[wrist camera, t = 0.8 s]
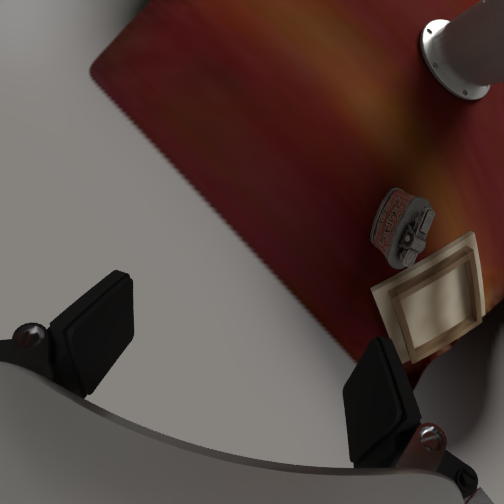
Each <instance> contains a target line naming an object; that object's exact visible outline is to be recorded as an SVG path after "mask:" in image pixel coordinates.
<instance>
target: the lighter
mask: <svg viewBox="0 0 504 504" xmlns="http://www.w3.org/2000/svg"><path fill="white" fill-rule="evenodd" d="M434 216H435V211H434V210H432V209H431V205H430V203H429V201H428V200H426V199H425V198H422V197H419V196H413V195H411V194H408V193H406V192H405V191H403V190H402V189H399V188H392V189H390V190H389V191H388V193H387V194H386V196H385V198H384V199H383V201H382V203H381V205H380V207H379V209H378V211H377V214H376V217H375V219H374V222H373V226H372V230H371V234H370V240H371V242H372V244H373V245H374V246H375V247H377V248H378V249H379V250H380V251H381V252H382V253H383V254H384V256H385V257H386V259H387V262H388V263H389V264H390V265H391V267H393V268H394V269H402V268H404V267H406V266H407V267H411V266H412V265H413V263H414V261H415V259H416V257H417V255H418V254H419V253H421V252H423V250H424V248H425V246H426V235H427V233H428V231H429V228H430V226H431V224H432V221H433V219H434Z"/></svg>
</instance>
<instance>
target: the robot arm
mask: <svg viewBox="0 0 504 504" xmlns="http://www.w3.org/2000/svg"><path fill="white" fill-rule="evenodd" d="M420 47H421V51H422V55H423V57H424V60H425V62H426V64H427V66H428V68H429V69H430V71H431V72H432V74H433V75H434V77H435V78H436V79H437V80H438V81H439V83H440V84H441V85H442V86H443V87H444V88H446V89H447V90H448V91H449V92H451V93H452V94H454V95H455V96H457V97H459V98H462V99H465V100H476V99H480V98H482V97H484V96H485V95H486V94H487V92H488V90H489V88H490V85H491V84H496V83H501V82H504V0H481V1H480V2H478V3H477V4H475V5H473V6H472V7H470V8H469V9H467V10H466V11H465V12H463V13H462V14H460V15H459V16H457V17H456V18H454V19H453V20H451V21H447V20H433V21H431V22H429V23H428V24H427V25H426V26H425V27H424V28H423V29H422V32H421V35H420ZM133 336H134V313H133V280H132V279H131V278H130V276H129V274H128V273H124V272H121V271H118V270H115V271H113V272H111V273H110V274H109V275H108V276H106V277H105V278H104V279H102V280H101V281H100V282H99V283H98V284H96V285H95V286H94V287H92V288H91V289H90V290H89V291H88V292H86V293H85V294H84V295H83V296H81V297H80V298H79V299H78V300H76V301H75V302H74V303H73V304H72V305H70V306H69V307H68V308H67V309H66V310H65V311H63V312H62V313H61V314H60V315H59V316H57V318H55V319H54V320H53V321H52V322H51V323H50V327H49V328H48V329H46V328H45V327H44V326H43V325H41V324H38V323H26V324H24V325H21V326H20V327H18V328H17V329H16V330H15V332H14V334H13V336H12V339H8V340H0V504H494V503H493V502H492V501H491V500H490V498H489V497H488V496H487V495H486V493H485V492H484V491H483V490H482V488H481V487H479V488H478V489H477V485H478V477H477V474H476V473H475V471H474V470H473V469H472V468H471V467H470V466H468V465H467V464H465V463H464V462H462V461H461V460H459V459H458V458H457V457H455V456H454V455H452V454H451V453H450V452H448V451H447V450H446V447H447V437H446V435H445V433H444V431H443V430H442V429H441V428H440V427H439V426H437V425H435V424H433V423H423V424H421V423H420V419H421V418H422V417H421V414H420V411H419V408H418V405H417V402H416V399H415V397H414V394H413V391H412V388H411V386H410V383H409V380H408V378H407V375H406V373H405V370H404V368H403V365H402V363H401V360H400V358H399V355H398V353H397V350H396V348H395V346H394V343H393V341H392V339H390V338H386V337H380V336H378V337H376V338H375V339H372V340H371V341H370V342H369V344H368V346H367V348H366V350H365V352H364V353H363V355H362V357H361V359H360V360H359V362H358V364H357V366H356V367H355V369H354V371H353V372H352V374H351V376H350V377H349V379H348V380H347V382H346V384H345V386H344V388H343V400H344V407H345V416H346V425H347V434H348V445H349V456H350V461H351V462H353V463H354V468H328V467H313V466H301V465H293V464H284V463H276V462H270V461H264V460H258V459H253V458H248V457H243V456H238V455H233V454H229V453H224V452H221V451H217V450H213V449H209V448H205V447H202V446H198V445H195V444H191V443H188V442H185V441H182V440H179V439H175V438H173V437H170V436H167V435H164V434H161V433H159V432H156V431H153V430H151V429H148V428H146V427H143V426H141V425H138V424H136V423H133V422H131V421H129V420H126V419H124V418H122V417H120V416H117V415H115V414H113V413H111V412H109V411H107V410H105V409H103V408H100V407H99V406H97V405H95V404H92V403H91V402H89V401H87V400H85V399H84V398H85V397H86V396H87V394H88V395H90V394H92V393H93V392H94V390H95V389H96V387H97V386H98V385H99V383H100V382H101V381H102V379H103V378H104V376H105V375H106V374H107V373H108V371H109V370H110V368H111V367H112V366H113V364H114V363H115V362H116V360H117V359H118V358H119V356H120V355H121V354H122V352H123V351H124V350H125V349H126V347H127V346H128V345H129V343H130V342H131V341H132V339H133Z"/></svg>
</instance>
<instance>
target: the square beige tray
mask: <svg viewBox="0 0 504 504" xmlns="http://www.w3.org/2000/svg"><path fill="white" fill-rule="evenodd" d="M370 289H371V292H372V294H373V297H374V299H375V302H376V304H377V307H378V309H379V312H380V314H381V317H382V319H383V322H384V325H385V327H386V330H387V333H388V335H389V338H390V339H392V341H393V343H394V346H395V348H396V350H397V353H398V355H399V358H400V360H401V363H405V362H407V361H408V360H411V362H412V364H413V363H415V362H417V361H419V360H421V359H423V358H425V357H427V356H428V355H430V354H432V353H434V352H436V351H437V350H439V349H441V348H443V347H444V346H446V345H448V344H449V343H451V342H453V341H454V340H456V339H457V338H459V337H461V336H462V335H464V334H465V333H467V332H468V331H470V330H471V329H473V328H474V327H476V326H477V325H479V324H480V323H482V316H483V315H485V303H484V291H483V282H482V274H481V267H480V260H479V254H478V248H477V243H476V238H475V233H474V232H472V231H469V232H467V233H466V234H464V235H462V236H461V237H459V238H458V239H456V240H455V241H453V242H451V243H450V244H448V245H446V246H445V247H443V248H442V249H440V250H438V251H437V252H435V253H433V254H432V255H430V256H428V257H426V258H425V259H423V260H421V261H419V262H418V263H416V264H414V265H412V266H411V267H409V268H407V269H405V270H403V271H402V272H400V273H398V274H396V275H394V276H392V277H391V278H389V279H387V280H385V281H383V282H381V283H379V284H377V285H375V286H373V287H371V288H370Z"/></svg>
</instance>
